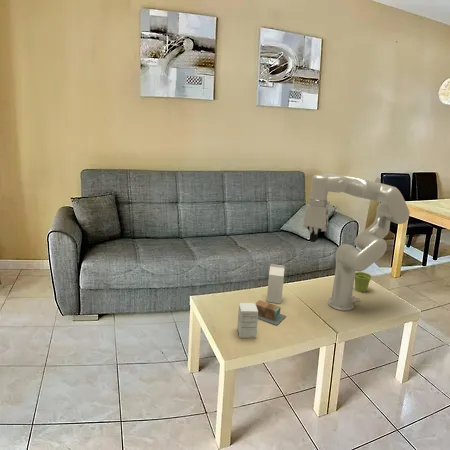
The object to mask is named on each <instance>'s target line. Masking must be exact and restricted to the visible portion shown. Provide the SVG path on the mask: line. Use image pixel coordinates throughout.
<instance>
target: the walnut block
mask: <svg viewBox="0 0 450 450" xmlns="http://www.w3.org/2000/svg"><path fill="white" fill-rule="evenodd" d="M254 303H255V304H256V307H257V309H258V315H259V316H262V317H265V318H268V319H270V320H273V321H276V320H277V319H278V318H279V317H280V314H281V308H282V307H281V306H279V305H276V304H274V303H271V302H267V301H264V300H261V299H259V300H257V301H256V302H254Z"/></svg>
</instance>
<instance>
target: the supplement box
mask: <svg viewBox="0 0 450 450" xmlns="http://www.w3.org/2000/svg"><path fill="white" fill-rule="evenodd" d="M255 303H256V302H238V315H237V326H236V327H237V331H238V337H239V338H240V339H244V338H246V339H247V338H248V339H249V338H250V339H251V338H257V330H258V321H259V319H258V309H257V307H256V304H255Z"/></svg>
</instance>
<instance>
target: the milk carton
mask: <svg viewBox="0 0 450 450" xmlns="http://www.w3.org/2000/svg"><path fill="white" fill-rule="evenodd" d="M285 267H286V266H285V265H279V264H272V263H271V264H270V265H269V272H268V273H269V274H268V279H267V280H268V282H267V293H266V302H267V303H271V304H282V300H283V299H282V297H283V287H284V279H285V278H284V277H285Z"/></svg>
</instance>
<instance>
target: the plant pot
mask: <svg viewBox="0 0 450 450" xmlns="http://www.w3.org/2000/svg"><path fill="white" fill-rule="evenodd" d="M355 272H356V273H355V280H354V289H355V291H358V292H359V293H360V292H363V293H365V292H367V290H368V287H369V283H370V281H371V279H372V278H373V276H372V275H371V273H367V272H364V271H360V272H357V271H355Z"/></svg>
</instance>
